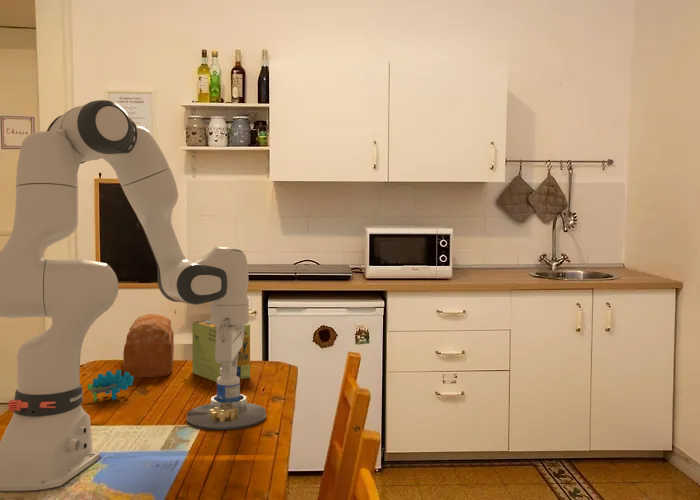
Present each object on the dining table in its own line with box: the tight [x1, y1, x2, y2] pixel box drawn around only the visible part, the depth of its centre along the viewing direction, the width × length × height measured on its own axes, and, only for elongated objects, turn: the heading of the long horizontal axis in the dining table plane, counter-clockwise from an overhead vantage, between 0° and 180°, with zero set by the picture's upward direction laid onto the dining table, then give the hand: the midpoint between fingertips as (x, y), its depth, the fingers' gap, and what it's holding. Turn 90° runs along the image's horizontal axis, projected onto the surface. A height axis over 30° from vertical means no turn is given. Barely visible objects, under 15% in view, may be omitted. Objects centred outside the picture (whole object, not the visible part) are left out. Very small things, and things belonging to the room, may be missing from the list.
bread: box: [122, 313, 175, 379], centre depth 208 cm, size 14×26×16 cm, turn 13°
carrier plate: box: [186, 393, 267, 431], centre depth 159 cm, size 18×18×4 cm
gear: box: [87, 369, 135, 402], centre depth 173 cm, size 11×6×10 cm
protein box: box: [191, 319, 251, 383], centre depth 199 cm, size 10×15×16 cm
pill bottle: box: [216, 366, 241, 402], centre depth 162 cm, size 6×5×10 cm
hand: (229, 374), depth 161 cm, fingers open, 8 cm apart
